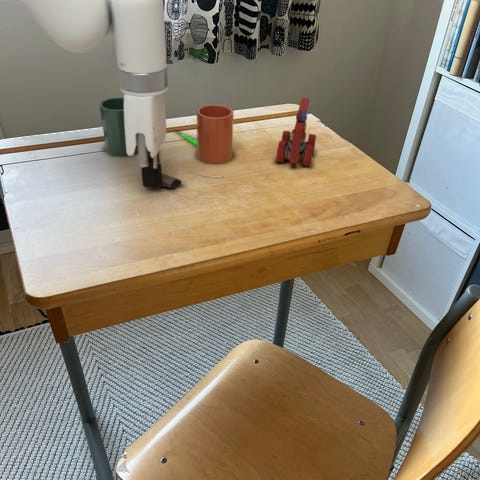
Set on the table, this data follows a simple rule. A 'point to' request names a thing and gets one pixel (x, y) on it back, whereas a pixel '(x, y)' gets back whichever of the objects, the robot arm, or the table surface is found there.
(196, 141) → the green marker pen
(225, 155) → the cup
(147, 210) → the table surface
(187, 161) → the table surface
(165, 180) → the block
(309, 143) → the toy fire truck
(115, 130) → the green cup
